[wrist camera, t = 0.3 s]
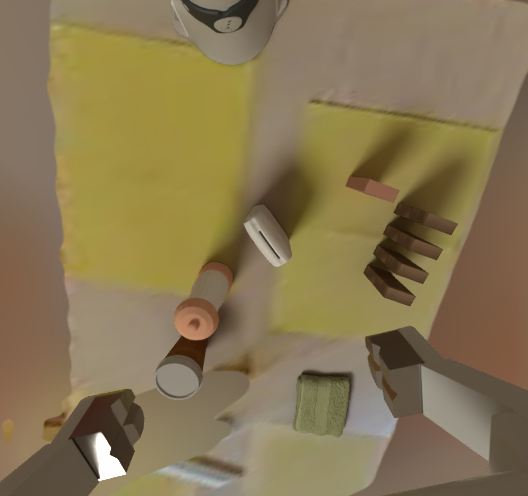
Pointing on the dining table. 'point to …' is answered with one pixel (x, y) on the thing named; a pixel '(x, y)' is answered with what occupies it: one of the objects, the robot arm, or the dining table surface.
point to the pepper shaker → (204, 302)
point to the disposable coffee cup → (181, 369)
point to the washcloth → (321, 405)
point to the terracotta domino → (372, 188)
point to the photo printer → (268, 235)
